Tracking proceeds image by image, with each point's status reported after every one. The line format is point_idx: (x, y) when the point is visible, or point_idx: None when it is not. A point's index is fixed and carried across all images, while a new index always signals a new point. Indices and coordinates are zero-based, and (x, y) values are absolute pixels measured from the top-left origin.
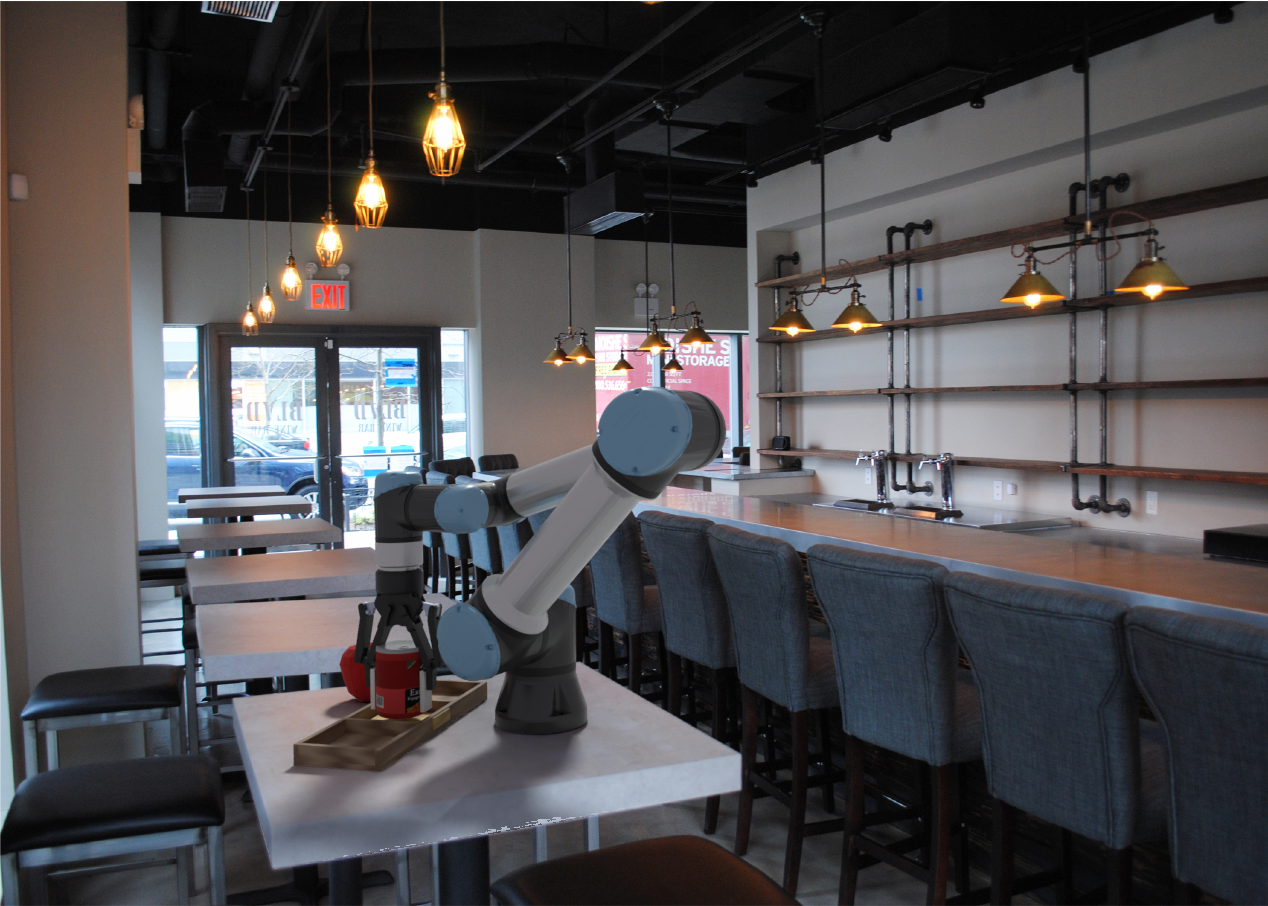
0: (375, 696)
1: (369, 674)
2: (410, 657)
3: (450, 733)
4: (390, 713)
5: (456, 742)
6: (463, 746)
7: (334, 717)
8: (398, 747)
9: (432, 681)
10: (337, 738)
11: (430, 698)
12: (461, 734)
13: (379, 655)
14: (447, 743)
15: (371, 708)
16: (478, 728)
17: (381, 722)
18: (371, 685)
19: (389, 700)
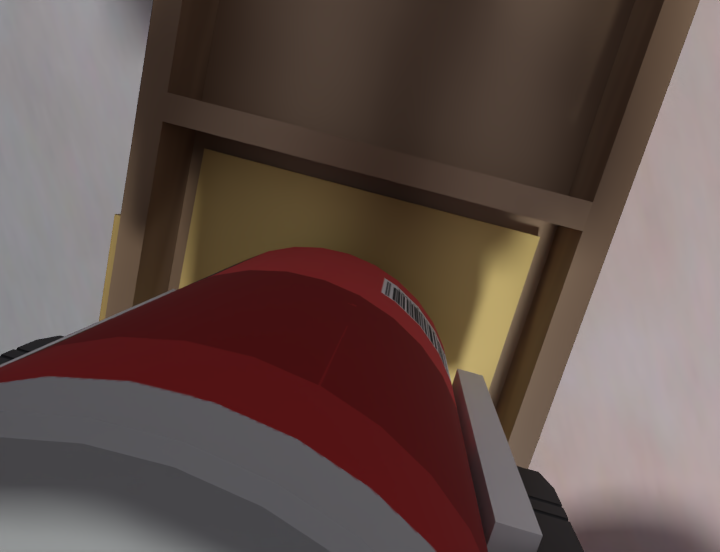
0: (462, 408)
1: (542, 530)
2: None
3: (105, 250)
4: (342, 253)
5: (47, 119)
6: (3, 60)
7: (684, 534)
8: None
9: (3, 354)
10: (591, 111)
11: None
12: (57, 233)
13: (405, 487)
14: (80, 106)
15: (478, 375)
16: (12, 312)
17: (370, 146)
18: (500, 444)
19: (336, 266)
